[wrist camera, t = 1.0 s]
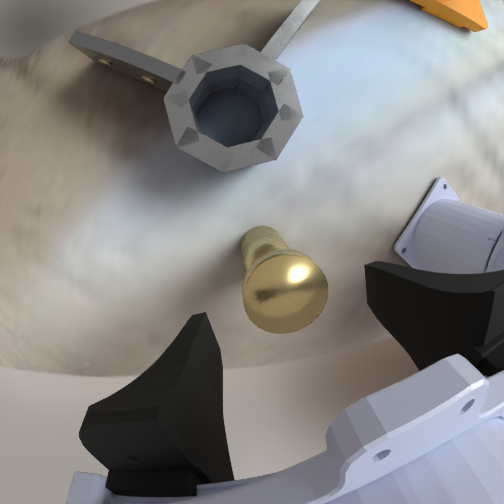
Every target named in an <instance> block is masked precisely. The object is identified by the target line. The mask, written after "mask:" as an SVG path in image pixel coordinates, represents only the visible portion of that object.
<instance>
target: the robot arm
mask: <svg viewBox="0 0 504 504" xmlns="http://www.w3.org/2000/svg"><path fill="white" fill-rule="evenodd" d="M443 185H444V188H443ZM403 248H404V251H403V252H402V249H403ZM394 250H395V251H396V252H397V253H398V254H399V255H400V256H401V257H402V258H403V259H404V260H405V261H406V262H407V263H408V264H409V265H410V266H411V267H412V268H409V267H405V266H400V265H396V264H391V263H386V262H380V261H375V262H372V263H369V264H366V265H364V266H365V277H366V289H367V304H368V305H369V307H370V309H371V310H372V312H373V313H374V315H375V316H376V318H377V319H378V320H379V321H380V322H381V324H382V325H383V326H384V327H385V328H386V329H387V330H388V331H389V332H390V334H391V335H392V336H393V337H394V338H395V339H396V340H397V341H398V342H399V343H400V345H401V346H402V347H403V348H404V349H405V350H406V352H407V353H408V354H409V355H410V357H411V358H412V360H413V362H414V363H415V365H416V366H417V368H418V369H419V372H417V373H415V374H413V375H411V376H410V377H407V378H405V379H404V380H401V381H399V382H397V383H395V384H393V385H391V386H388V387H386V388H384V389H382V390H380V391H377V392H375V393H373V394H370V395H368V396H366V397H363V398H362V399H360V400H359V401H356V402H355V403H353V404H351V405H349V406H347V407H346V408H345V409H344V410H343V411H342V412H341V413H340V414H339V415H338V416H337V417H336V418H335V419H333V420H332V422H331V423H330V425H329V428H328V431H327V434H326V443H327V450H326V451H324V452H323V453H320V454H318V455H316V456H314V457H312V458H310V459H308V460H305V461H303V462H301V463H299V464H296V465H294V466H292V467H289V468H287V469H285V470H282V471H280V472H276V473H272V474H267V475H263V476H258V477H252V478H247V479H241V480H234V476H233V471H232V466H231V461H230V456H229V451H228V445H227V439H226V433H225V426H224V419H223V366H222V358H221V351H220V347H219V345H218V342H217V340H216V337H215V335H214V332H213V330H212V327H211V325H210V322H209V319H208V317H207V314H206V312H203V313H199V314H195V315H192V316H191V317H190V319H189V320H188V321H187V323H186V324H185V326H184V327H183V328H182V330H181V331H180V333H179V334H178V335H177V337H176V338H175V339H174V341H173V342H172V343H171V344H170V346H169V347H168V348H167V349H166V351H165V352H164V353H163V354H162V355H161V356H160V357H159V359H158V360H157V361H156V362H155V363H154V364H153V365H151V366H150V367H149V368H148V369H147V370H146V371H145V372H144V373H142V374H141V375H140V376H139V377H137V378H136V379H135V380H134V381H132V382H131V383H130V384H128V385H127V386H125V387H124V388H122V389H121V390H119V391H117V392H116V393H114V394H112V395H111V396H109V397H107V398H105V399H103V400H101V401H99V402H97V403H95V404H92V405H90V406H89V407H88V410H87V412H86V415H85V418H84V420H83V423H82V426H81V428H80V431H79V438H80V440H81V442H82V444H83V446H84V447H85V448H86V449H87V450H88V451H89V452H90V453H91V454H92V455H93V456H94V457H95V458H96V459H97V460H98V461H99V462H100V463H102V464H103V465H104V466H105V467H106V468H107V469H108V470H109V472H108V477H105V476H103V475H100V474H94V473H85V472H74V476H73V480H72V483H71V486H70V490H69V494H68V498H67V502H66V504H504V215H502V214H499V213H496V212H493V211H490V210H486V209H483V208H480V207H477V206H473V205H470V204H466V203H463V202H460V200H459V199H458V197H457V196H456V194H455V193H454V191H453V190H452V189H451V187H450V186H449V184H448V183H447V182H446V180H445V179H444V178H443V177H438V178H437V179H436V181H435V183H434V185H433V186H432V188H431V190H430V191H429V193H428V194H427V196H426V198H425V199H424V201H423V203H422V204H421V206H420V207H419V209H418V210H417V212H416V214H415V215H414V217H413V218H412V220H411V221H410V223H409V224H408V226H407V227H406V229H405V230H404V232H403V233H402V235H401V236H400V237H399V239H398V240H397V242H396V243H395V245H394Z"/></svg>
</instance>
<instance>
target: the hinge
mask: <svg viewBox="0 0 504 504" xmlns="http://www.w3.org/2000/svg"><path fill="white" fill-rule="evenodd" d="M320 2H321V0H302V1H301V2H300V3H299V5H298V6H297V7H296V8H295V9H294V10H293V12H292V13H291V14H290V15H289V16H288V18H287V19H286V20H285V21H284V23H283V24H282V25H281V26H280V28H279V29H278V30H277V31H276V33H275V34H274V35H273V37H272V38H271V39H270V40H269V42H268V43H267V44H266V46H265V47H264V48H263V50H262V51H261V52H259V51H257V50H255V49H254V48H252V47H250V46H248V45H246V44H241V45H235V46H230V47H225V48H221V49H216V50H212V51H208V52H203V53H199V54H196V55H192V56H191V58H190V59H189V61H188V62H187V63H186V65H185V66H184V68H183V69H182V70H181V69H179V68H177V67H174V66H172V65H170V64H168V63H165V62H163V61H160V60H158V59H156V58H153V57H151V56H148V55H146V54H143V53H141V52H138V51H135V50H133V49H130V48H127V47H125V46H122V45H119V44H116V43H113V42H110V41H107V40H104V39H101V38H98V37H94V36H91V35H88V34H84V33H81V32H77V31H75V33H74V34H73V36H72V37H71V39H70V40H69V42H68V43H70V44H71V45H73V46H74V47H75V48H77V49H78V50H80V51H81V52H82V53H84V54H85V55H86V56H88V57H89V58H91V59H92V60H93V61H95V62H96V63H97V64H100V65H102V66H105V67H107V68H110V69H113V70H115V71H118V72H120V73H122V74H125V75H127V76H130V77H132V78H134V79H137V80H139V81H141V82H144V83H146V84H148V85H151V86H153V87H155V88H157V89H159V90H162V91H164V92H166V95H165V96H164V98H163V99H164V103H165V107H166V111H167V115H168V118H169V122H170V126H171V130H172V134H173V138H174V141H175V145H176V148H178V149H180V150H182V151H184V152H186V153H188V154H189V155H191V156H193V157H195V158H197V159H199V160H201V161H203V162H204V163H206V164H208V165H210V166H212V167H214V168H215V169H217V170H219V171H221V172H223V173H226V172H229V171H233V170H237V169H241V168H245V167H249V166H252V165H256V164H261V163H265V162H269V161H273V160H277V158H278V156H279V155H280V153H281V151H282V150H283V148H284V147H285V145H286V143H287V142H288V140H289V138H290V137H291V135H292V134H293V132H294V130H295V129H296V127H297V126H298V124H299V122H300V121H301V119H302V118H303V114H302V110H301V106H300V103H299V99H298V95H297V92H296V88H295V85H294V81H293V78H292V75H291V71H290V69H289V68H287V67H286V66H284V65H282V64H281V63H279V62H277V61H276V60H277V58H278V57H279V55H280V54H281V53H282V51H283V50H284V49H285V47H286V46H287V45H288V43H289V42H290V41H291V39H292V38H293V37H294V35H295V34H296V33H297V31H298V30H299V29H300V27H301V26H302V25H303V24H304V22H305V21H306V20H307V19H308V17H309V16H310V15H311V14H312V12H313V11H314V10H315V8H316V7H317V6H318V4H319V3H320ZM230 88H237V89H239V90H240V91H242V92H244V93H246V94H248V95H249V96H251V97H253V98H255V99H256V100H257V101H258V105H259V109H260V112H261V116H262V120H263V125H262V127H261V128H260V130H259V131H258V133H257V135H256V136H255V138H254V139H253V141H252V142H247V143H243V144H239V145H235V146H231V147H228V148H227V147H225V146H223V145H222V144H220V143H218V142H216V141H214V140H212V139H211V138H209V137H207V136H205V135H203V134H201V132H200V129H199V125H198V121H197V117H196V114H197V112H198V111H199V109H200V108H201V106H202V104H203V103H204V101H205V100H206V98H207V97H208V95H209V94H210V93H214V92H218V91H222V90H226V89H230Z"/></svg>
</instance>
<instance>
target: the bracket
mask: <svg viewBox="0 0 504 504" xmlns="http://www.w3.org/2000/svg"><path fill="white" fill-rule="evenodd" d="M410 1H412V2H414V3H416V4H419V5H420V6H421V10H423V11H425V12H428V13H430V14H432V15H434V16H437V17H439V18H441V19H443V20H445V21H447V22H449V23H451V24H453V25H455V26H457V27H459V28H461V27H466V28H468V29H470V30H472V31H473V32H477V31H481V30H484V29H487V28H488V24H487V21H486V18H485V15H484V12H483V9H482V7H481V4H480V1H479V0H410Z"/></svg>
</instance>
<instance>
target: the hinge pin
mask: <svg viewBox="0 0 504 504" xmlns="http://www.w3.org/2000/svg"><path fill="white" fill-rule="evenodd" d="M241 253H242V256H243V260H244V264H245V268H246V274H245V276H244V279H243V283H242V297H243V302H244V307H245V311H246V313H247V315H248V317H249V318H250V320H251V321H252V322H253V323H254V324H255V325H256V326H258V327H259V328H261V329H263V330H265V331H268V332H271V333H279V334H283V333H291V332H295V331H298V330H300V329H302V328H304V327H306V326H308V325H309V324H310V323H312V322H313V321H314V320H315V319H316V318H317V317H318V316H319V314H320V313H321V312H322V310H323V308H324V306H325V304H326V301H327V297H328V283H327V280H326V277H325V275H324V273H323V272H322V270H321V269H320V268H319V267H318V266H317V264H316V263H315V262H314V261H313V260H312V259H311V258H310V257H309V256H307V255H306V254H304V253H302V252H299V251H296V250H291V249H290V247H289V246H288V245H287V244H286V242H285V241H284V240H283V239H282V237H281V236H280V235H279V234H278V233H277V232H276V231H275V230H274V229H272V228H270V227H267V226H258V227H255V228H252V229H251V230H249V231H248V232H247V233H246V234H245V235H244V237H243V239H242V242H241Z"/></svg>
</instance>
